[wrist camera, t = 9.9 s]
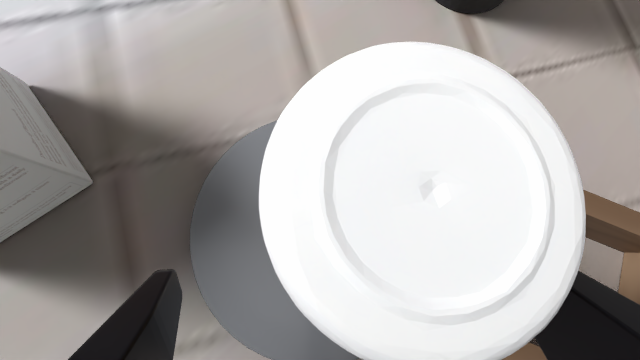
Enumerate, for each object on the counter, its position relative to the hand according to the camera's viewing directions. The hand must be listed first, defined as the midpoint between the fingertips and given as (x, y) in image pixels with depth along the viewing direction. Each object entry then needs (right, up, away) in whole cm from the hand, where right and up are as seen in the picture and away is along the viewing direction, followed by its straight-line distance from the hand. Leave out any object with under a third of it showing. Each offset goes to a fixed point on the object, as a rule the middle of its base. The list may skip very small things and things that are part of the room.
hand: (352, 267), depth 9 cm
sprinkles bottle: (-1, -1, +9) cm, 9 cm away
